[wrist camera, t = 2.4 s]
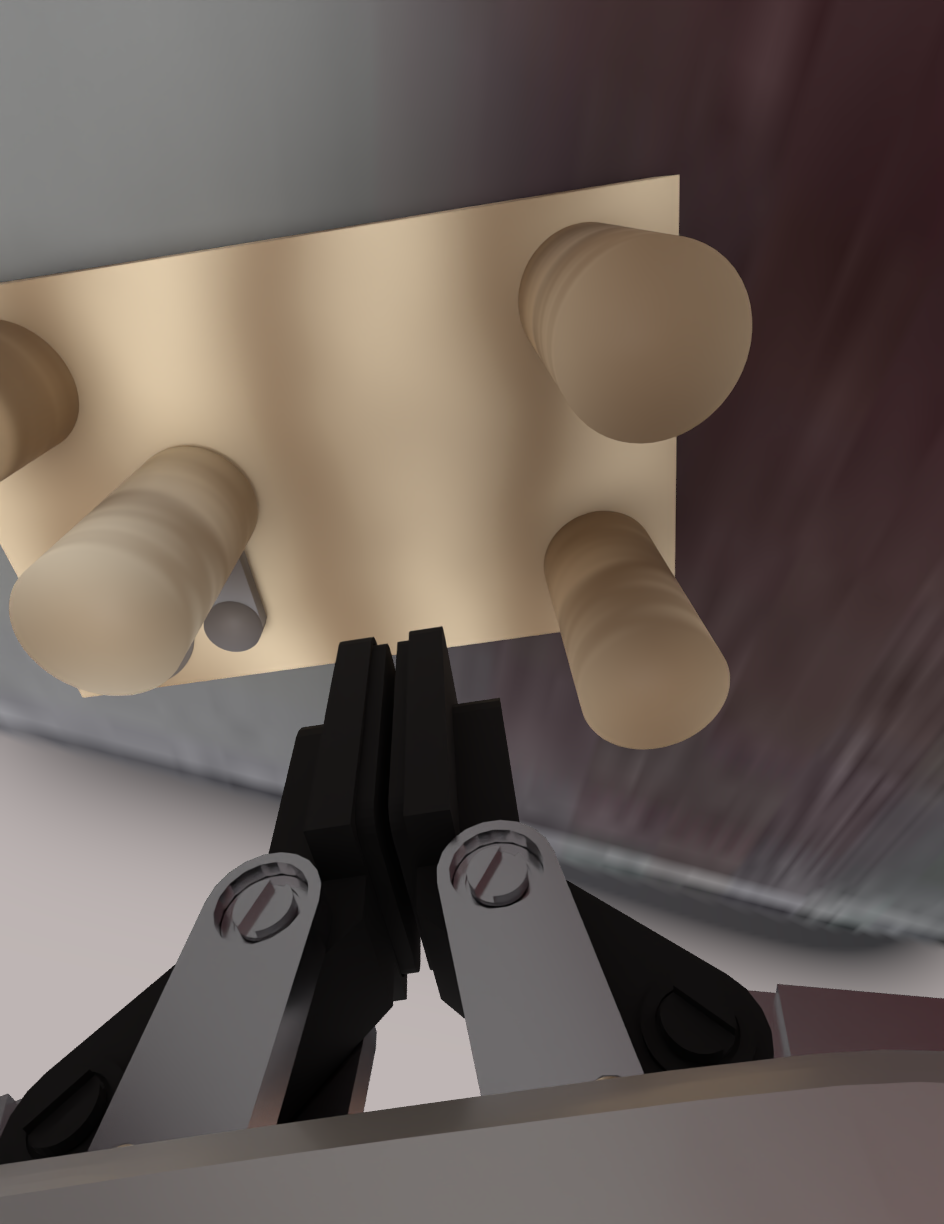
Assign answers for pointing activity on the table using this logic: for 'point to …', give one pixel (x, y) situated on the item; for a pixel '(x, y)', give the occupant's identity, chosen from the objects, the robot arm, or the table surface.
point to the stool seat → (410, 429)
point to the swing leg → (145, 578)
